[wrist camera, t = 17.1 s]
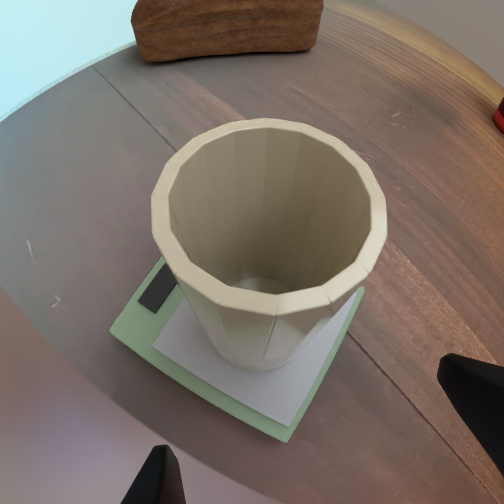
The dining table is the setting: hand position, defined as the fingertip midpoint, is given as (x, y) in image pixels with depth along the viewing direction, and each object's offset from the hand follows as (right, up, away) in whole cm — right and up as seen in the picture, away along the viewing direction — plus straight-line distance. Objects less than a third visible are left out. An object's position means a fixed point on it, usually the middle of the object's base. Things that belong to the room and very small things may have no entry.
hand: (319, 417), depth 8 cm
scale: (-3, 0, +14) cm, 15 cm away
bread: (-6, +38, +34) cm, 51 cm away
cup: (-2, 0, +12) cm, 12 cm away
